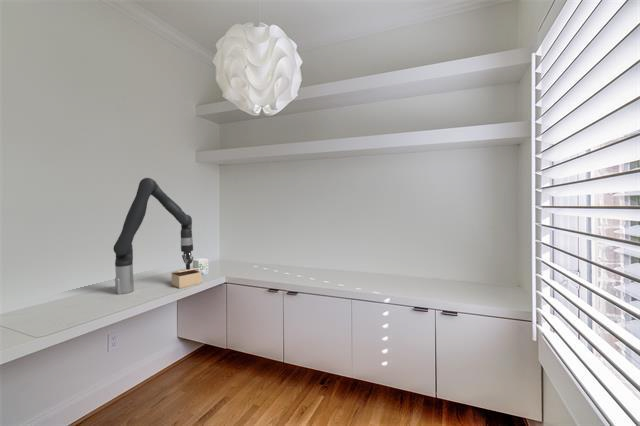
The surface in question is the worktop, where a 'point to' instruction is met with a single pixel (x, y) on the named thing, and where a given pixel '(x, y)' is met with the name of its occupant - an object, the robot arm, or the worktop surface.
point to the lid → (186, 270)
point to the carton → (186, 278)
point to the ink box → (201, 265)
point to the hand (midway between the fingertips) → (188, 269)
